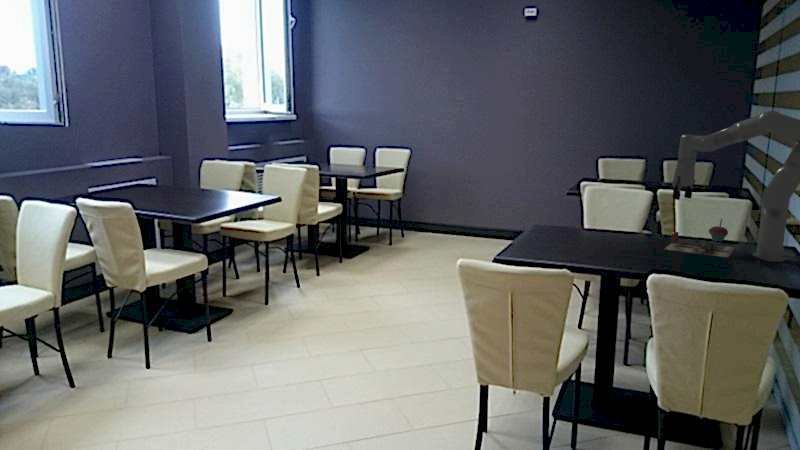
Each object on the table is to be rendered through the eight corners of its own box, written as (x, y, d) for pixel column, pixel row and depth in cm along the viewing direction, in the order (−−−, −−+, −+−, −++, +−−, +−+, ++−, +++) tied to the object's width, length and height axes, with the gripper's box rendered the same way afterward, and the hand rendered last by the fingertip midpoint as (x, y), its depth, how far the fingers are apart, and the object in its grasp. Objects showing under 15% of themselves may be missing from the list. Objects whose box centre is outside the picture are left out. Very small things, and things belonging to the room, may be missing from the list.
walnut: (710, 251, 270) (711, 243, 269) (709, 253, 266) (710, 244, 266) (701, 250, 272) (702, 242, 271) (699, 252, 269) (700, 243, 268)
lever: (724, 249, 273) (726, 237, 272) (723, 251, 269) (724, 238, 268) (672, 243, 286) (673, 231, 285) (669, 245, 282) (671, 232, 281)
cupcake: (730, 242, 295) (733, 218, 293) (712, 242, 295) (715, 218, 293) (721, 239, 304) (724, 215, 301) (704, 238, 304) (707, 215, 301)
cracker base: (735, 250, 279) (736, 242, 279) (727, 260, 260) (728, 252, 259) (674, 242, 294) (675, 235, 293) (663, 251, 275) (664, 244, 274)
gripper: (689, 160, 285) (684, 196, 289) (668, 161, 275) (663, 198, 279) (704, 162, 279) (699, 198, 283) (683, 163, 269) (679, 201, 273)
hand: (681, 198), depth 281 cm, fingers open, 9 cm apart
